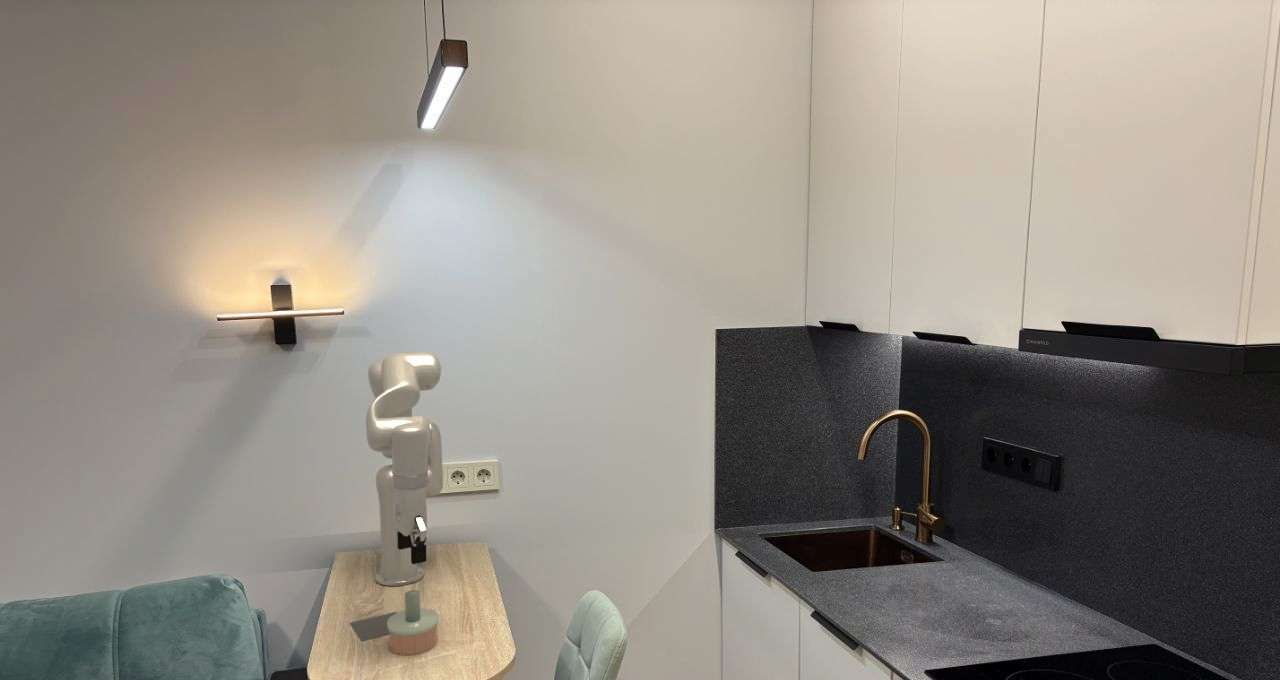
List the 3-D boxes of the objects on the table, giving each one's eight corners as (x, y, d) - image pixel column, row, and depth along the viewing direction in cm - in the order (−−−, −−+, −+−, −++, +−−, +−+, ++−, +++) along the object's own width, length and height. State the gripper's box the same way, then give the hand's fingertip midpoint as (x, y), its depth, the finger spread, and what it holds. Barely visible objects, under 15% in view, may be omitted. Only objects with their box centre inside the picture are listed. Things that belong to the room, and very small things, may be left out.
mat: (349, 624, 183) (349, 622, 183) (396, 613, 189) (396, 611, 189) (361, 643, 174) (361, 641, 174) (410, 631, 180) (410, 629, 180)
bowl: (384, 642, 174) (384, 621, 174) (428, 631, 180) (428, 610, 179) (397, 661, 166) (397, 639, 166) (443, 649, 172) (442, 627, 171)
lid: (381, 620, 174) (380, 590, 173) (429, 609, 180) (428, 579, 180) (395, 640, 165) (394, 607, 164) (445, 627, 171) (444, 596, 170)
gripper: (382, 473, 175) (383, 546, 177) (405, 493, 160) (406, 572, 162) (415, 468, 179) (416, 540, 181) (440, 487, 165) (441, 564, 166)
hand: (411, 555), depth 172 cm, fingers open, 9 cm apart
